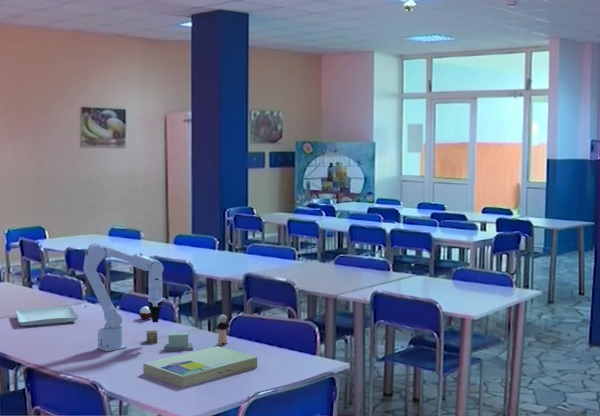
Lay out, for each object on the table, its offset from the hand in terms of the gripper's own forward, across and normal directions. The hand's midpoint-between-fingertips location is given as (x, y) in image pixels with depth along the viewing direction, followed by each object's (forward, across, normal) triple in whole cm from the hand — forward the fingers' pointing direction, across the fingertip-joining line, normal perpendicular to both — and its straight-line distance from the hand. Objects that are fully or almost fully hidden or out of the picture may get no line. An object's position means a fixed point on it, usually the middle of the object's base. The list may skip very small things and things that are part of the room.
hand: (155, 320), depth 315 cm
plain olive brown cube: (+10, +5, +2) cm, 11 cm away
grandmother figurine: (+10, -4, -28) cm, 30 cm away
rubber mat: (+10, -8, -10) cm, 16 cm away
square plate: (+11, +56, +53) cm, 78 cm away
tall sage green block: (+9, -8, -9) cm, 16 cm away
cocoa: (+10, +50, +5) cm, 51 cm away
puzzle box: (+11, -42, -17) cm, 47 cm away
